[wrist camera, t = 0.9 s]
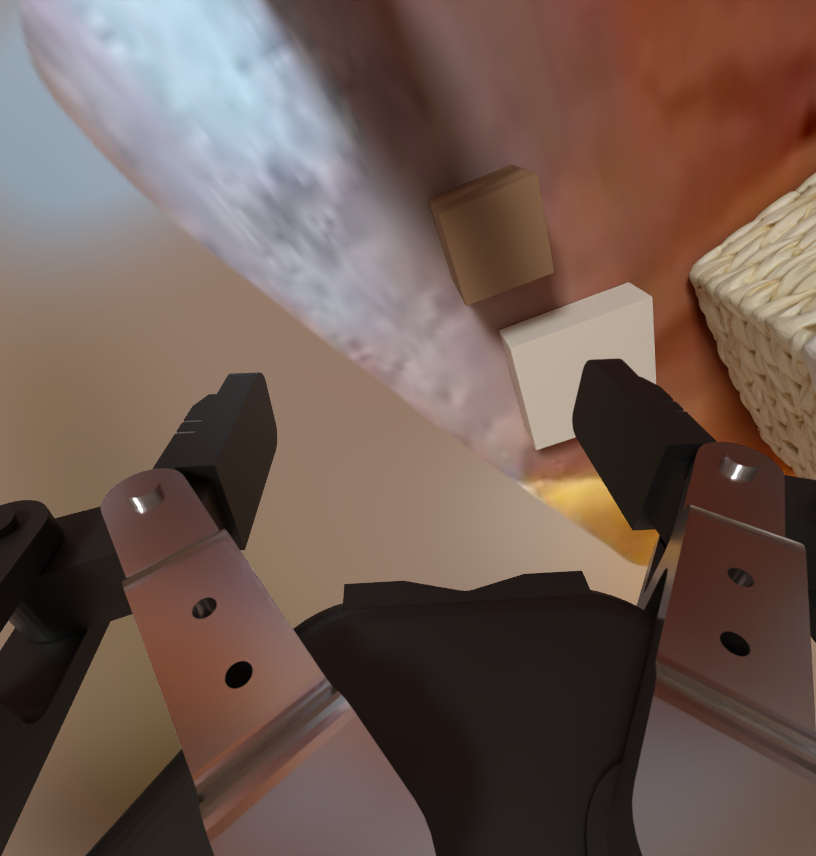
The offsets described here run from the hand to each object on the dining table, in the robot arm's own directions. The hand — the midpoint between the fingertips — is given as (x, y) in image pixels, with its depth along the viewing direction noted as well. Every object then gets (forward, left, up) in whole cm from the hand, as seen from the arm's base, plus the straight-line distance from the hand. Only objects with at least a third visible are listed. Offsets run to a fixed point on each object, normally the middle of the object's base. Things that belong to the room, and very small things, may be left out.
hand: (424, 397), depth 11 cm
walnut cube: (-5, +1, -19) cm, 20 cm away
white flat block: (-9, +13, -19) cm, 25 cm away
